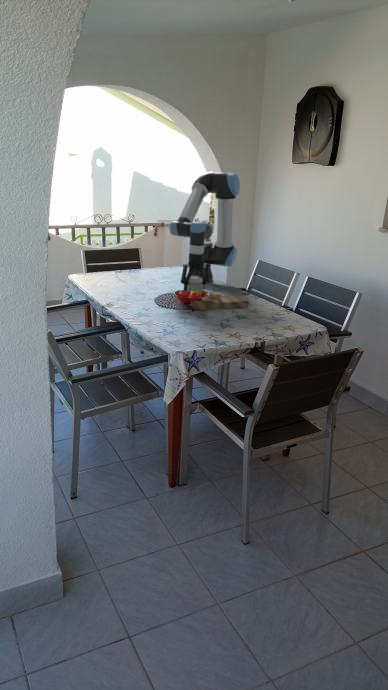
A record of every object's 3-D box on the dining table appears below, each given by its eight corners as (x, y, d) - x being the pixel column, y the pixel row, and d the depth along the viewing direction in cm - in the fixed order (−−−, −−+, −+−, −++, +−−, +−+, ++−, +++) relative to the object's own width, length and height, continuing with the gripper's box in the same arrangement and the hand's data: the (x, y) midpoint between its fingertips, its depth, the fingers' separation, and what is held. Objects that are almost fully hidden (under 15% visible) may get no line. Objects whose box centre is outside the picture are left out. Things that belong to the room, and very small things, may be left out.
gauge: (217, 299, 264) (217, 291, 263) (223, 301, 260) (224, 294, 259) (198, 301, 257) (198, 293, 256) (204, 304, 253) (205, 296, 252)
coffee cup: (204, 299, 271) (206, 277, 267) (196, 302, 264) (197, 279, 260) (190, 296, 275) (192, 274, 270) (182, 299, 268) (183, 277, 263)
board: (238, 301, 274) (239, 295, 273) (248, 306, 266) (248, 300, 265) (187, 304, 261) (188, 299, 260) (196, 310, 253) (196, 304, 252)
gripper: (210, 251, 268) (207, 293, 276) (175, 252, 259) (173, 295, 267) (217, 253, 262) (214, 297, 270) (181, 254, 253) (178, 299, 261)
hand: (193, 296), depth 269 cm, fingers closed on coffee cup, 8 cm apart
